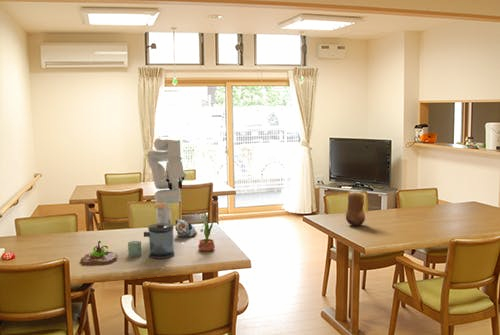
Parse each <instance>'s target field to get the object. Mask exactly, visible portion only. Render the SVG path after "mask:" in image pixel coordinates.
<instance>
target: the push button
mask: <svg viewBox="0 0 500 335" xmlns="http://www.w3.org/2000/svg"><path fill="white" fill-rule="evenodd" d="M156 208H158V216H163V208H166V203H156V202H155V204H154V209H156Z"/></svg>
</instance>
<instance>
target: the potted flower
mask: <svg viewBox="0 0 500 335" xmlns="http://www.w3.org/2000/svg"><path fill="white" fill-rule="evenodd" d="M200 213H201V216H200ZM194 216H195V217H197V220H198V221H201V220H202V221H203V225H202V226H201V229H200V232H201V233H202V232H203V234H204V238H205V239H204V238H203V239H200V240H199V244H198V246H197V247H198V250H199V251H201V252H211V250H212V251H213V250H215V248H216V247H215V243H214V242H215V241H214V239H210V238H209V237H210V236H211V231H212V228H213V225H214V221H215V216H213V217H212V220H211V224H210V226H209V220H208V217H207V216H208V215H207V214H206V212H205V211H204V210H203V209H202V210H200V211H199V212H196V213H195V214H194ZM203 227H204V229H203Z"/></svg>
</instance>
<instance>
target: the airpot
mask: <svg viewBox="0 0 500 335" xmlns="http://www.w3.org/2000/svg"><path fill="white" fill-rule="evenodd" d="M147 230H148V231H143V237H144V238H146V237H148V244H149V245H148V246H149V253H148V256H149V258H151V259H152V260H153V259H155V260H164V259H165V260H166V258H167V259H170V257H171V258H173V257H174V256H175V251H174V249H175V246H174V236H173V234H174V224H172V223H171V224H168V223H159V224H157V223H154V224H150V225H148V226H147Z"/></svg>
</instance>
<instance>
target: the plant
mask: <svg viewBox="0 0 500 335" xmlns="http://www.w3.org/2000/svg"><path fill="white" fill-rule="evenodd" d="M101 243H102V241H101V240H98V241H97V245H96V246H94V247H93V249H92V251H91V252H89V253H87V254H85V255H84V256H83V257H81V258H80V263H81V265H83V266H97V265H98V266H105V265H111V264H113V263H114V262H116V261H117V259H118V253H117V252H115V251H108V249H109V246H108V245H102V246H101V245H100V244H101ZM100 246H101V247H100ZM106 249H107V250H106Z"/></svg>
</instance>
